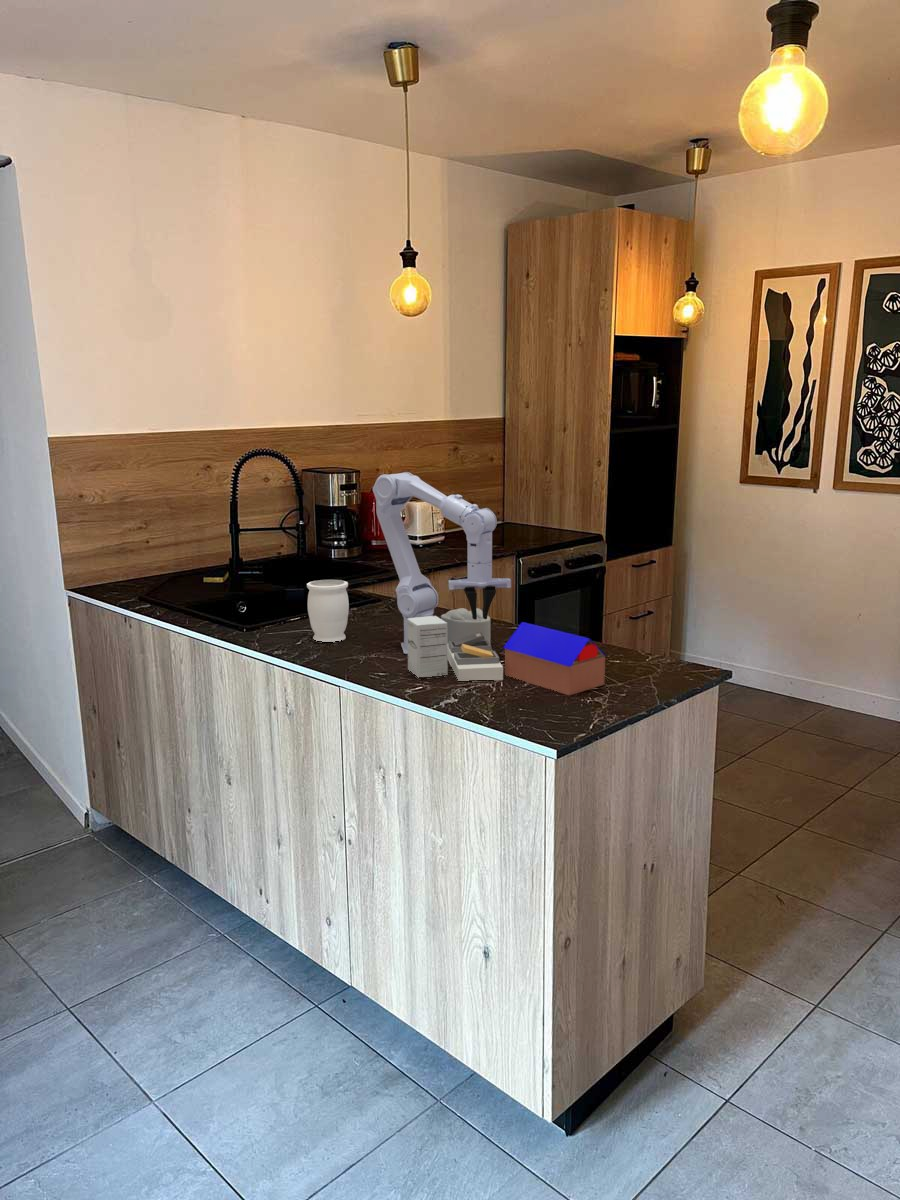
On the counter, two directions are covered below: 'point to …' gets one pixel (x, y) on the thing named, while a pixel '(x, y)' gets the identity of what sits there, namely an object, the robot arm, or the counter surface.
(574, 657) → the house
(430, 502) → the robot arm
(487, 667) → the cream switch panel
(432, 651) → the supplement box
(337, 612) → the jar
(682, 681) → the counter surface
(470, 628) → the lumpy-topped squat cylinder
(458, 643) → the charcoal rocker
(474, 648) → the amber rocker
